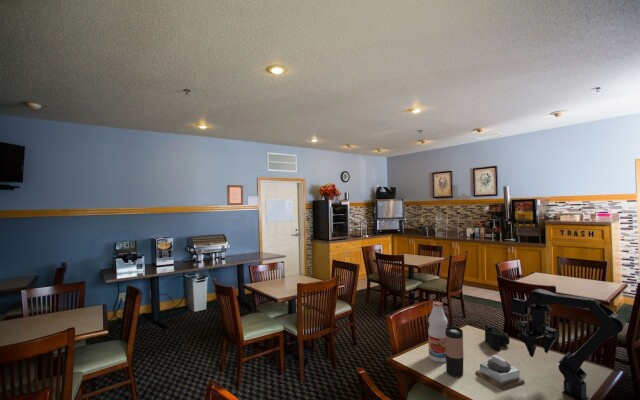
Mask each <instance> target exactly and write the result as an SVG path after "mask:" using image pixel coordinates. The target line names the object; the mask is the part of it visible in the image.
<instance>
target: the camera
mask: <svg viewBox="0 0 640 400" xmlns="http://www.w3.org/2000/svg"><path fill="white" fill-rule="evenodd" d="M484 341H485V342H486V344H487V345H488V346H489V347H490V348H491V349H492V350H493V352H500V351H501V346H502V345H503V346H509V344H510V341H511V340H510V336H509V333H507V332H500V331H499V329H498V328H497V327H496V326H494V327H493V326H492V325H491V324H489V323H486V324H485V326H484Z"/></svg>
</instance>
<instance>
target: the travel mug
mask: <svg viewBox="0 0 640 400" xmlns="http://www.w3.org/2000/svg"><path fill="white" fill-rule="evenodd" d="M445 348H446V362H445V369H446V374H447V375H448V376H449V377H453V378H462V377H463V376H464V330H463V329H461V328H459V327H455V326H447V328H446V329H445Z"/></svg>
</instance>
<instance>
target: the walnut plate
mask: <svg viewBox="0 0 640 400" xmlns="http://www.w3.org/2000/svg"><path fill="white" fill-rule="evenodd" d="M475 374H476V375H477V376H479V377H481V378H482V379H484V380H485V381H487V382H489V383H491V384H492V385H494V386H495V387H497V388H499V389H500V390H502V391H504V390H507V389H510V388H513V387H517V386H519V385H523V384H525V383H526V382H525V380H524V379H523V378H521V377H520V379H518V380H515V381H512V382H509V383H506V384H502V385H501V384H499V383H497V382H496V381H494V380H492V379H491V378H489V377H487V376H486V375H484V374H482V373H481V372H480V369H477V370H476V371H475Z"/></svg>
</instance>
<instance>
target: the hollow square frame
mask: <svg viewBox="0 0 640 400" xmlns="http://www.w3.org/2000/svg"><path fill="white" fill-rule="evenodd" d="M479 370H480V372H481V373H482V374H484V375H486V376H487V377H489V378H491V379H492V380H494V381H496V382H497V383H499V384H501V385H502V384H506V383H509V382H512V381H515V380H518V379H520V378H521V377H520V369H518V368H516V367H514V366H513V365H511V370H510V371H508V372H499V371H496V370H494V369H492V368H490V367H489V366H488V360H487V361H483V362H480V363H479Z"/></svg>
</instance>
